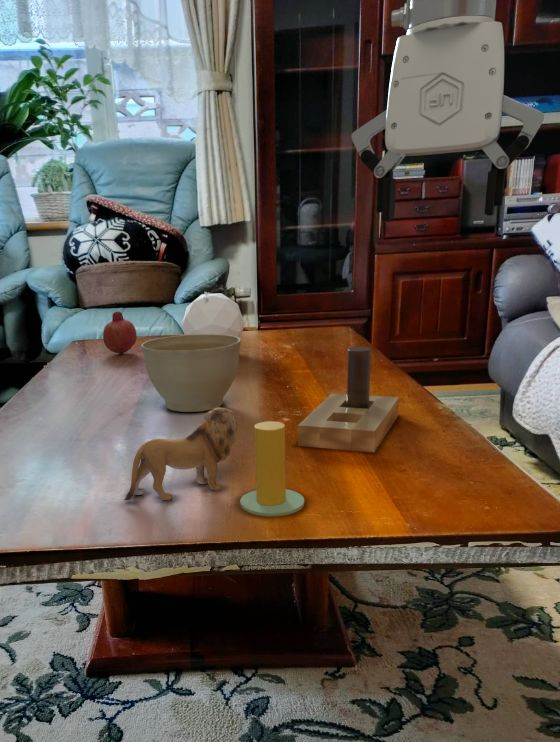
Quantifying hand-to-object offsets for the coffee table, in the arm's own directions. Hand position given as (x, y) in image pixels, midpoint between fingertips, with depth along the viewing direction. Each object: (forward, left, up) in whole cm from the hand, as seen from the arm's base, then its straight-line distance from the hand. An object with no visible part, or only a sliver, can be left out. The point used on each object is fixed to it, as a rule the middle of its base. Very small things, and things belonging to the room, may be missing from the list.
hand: (437, 217), depth 68 cm
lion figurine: (+25, +10, -28) cm, 39 cm away
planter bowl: (+40, -24, -28) cm, 55 cm away
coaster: (+14, +11, -28) cm, 33 cm away
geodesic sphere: (+55, -66, -28) cm, 91 cm away
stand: (+12, -17, -28) cm, 35 cm away
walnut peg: (+12, -21, -28) cm, 37 cm away
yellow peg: (+14, +11, -28) cm, 33 cm away
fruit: (+78, -63, -28) cm, 104 cm away
